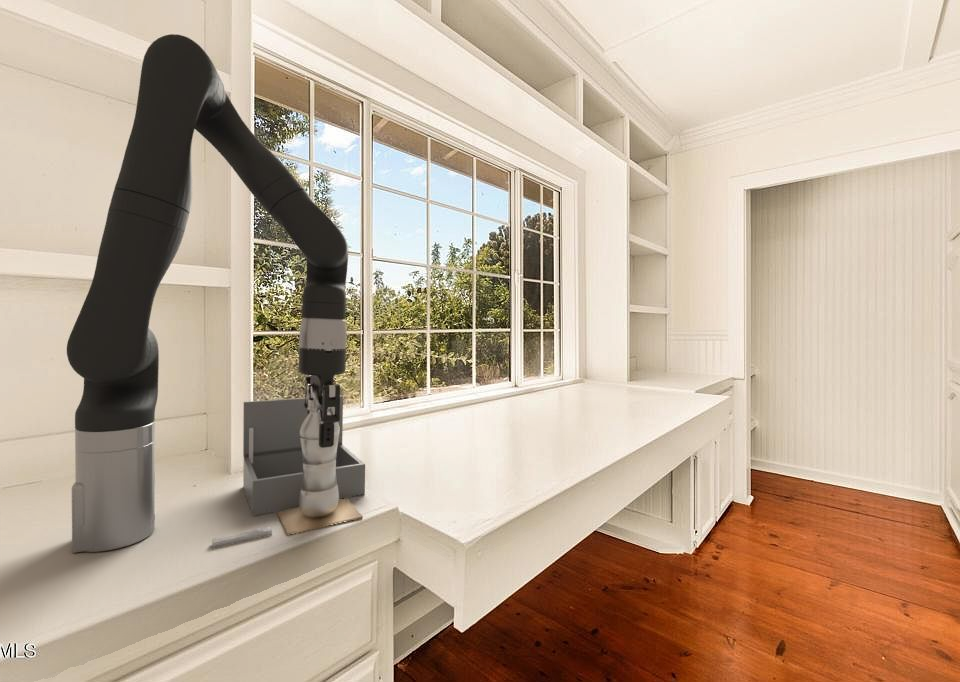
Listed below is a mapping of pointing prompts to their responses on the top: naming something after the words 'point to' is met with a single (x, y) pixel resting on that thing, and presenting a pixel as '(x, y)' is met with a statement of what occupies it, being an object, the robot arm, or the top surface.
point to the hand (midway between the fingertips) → (319, 440)
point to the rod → (241, 537)
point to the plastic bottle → (317, 469)
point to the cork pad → (317, 518)
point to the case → (286, 456)
